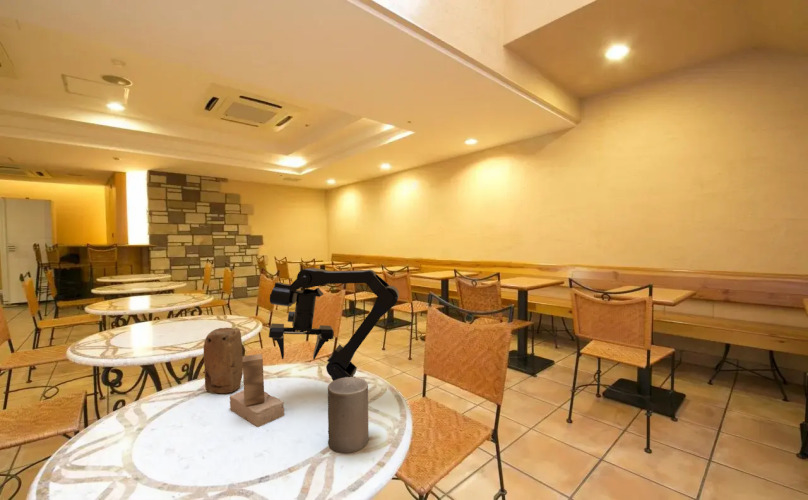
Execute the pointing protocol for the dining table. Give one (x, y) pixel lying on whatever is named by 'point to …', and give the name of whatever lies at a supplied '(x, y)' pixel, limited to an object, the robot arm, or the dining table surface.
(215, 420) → the dining table surface
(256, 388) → the walnut block
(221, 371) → the block
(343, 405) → the pillar candle
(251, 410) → the brick
